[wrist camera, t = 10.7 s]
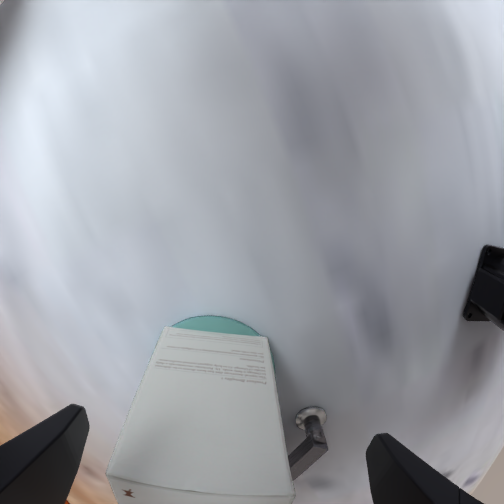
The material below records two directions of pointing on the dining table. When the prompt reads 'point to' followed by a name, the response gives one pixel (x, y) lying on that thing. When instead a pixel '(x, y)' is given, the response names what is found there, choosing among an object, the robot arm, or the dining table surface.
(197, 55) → the dining table surface
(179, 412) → the supplement box
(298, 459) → the grey cabinet handle
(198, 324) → the teal round disc
